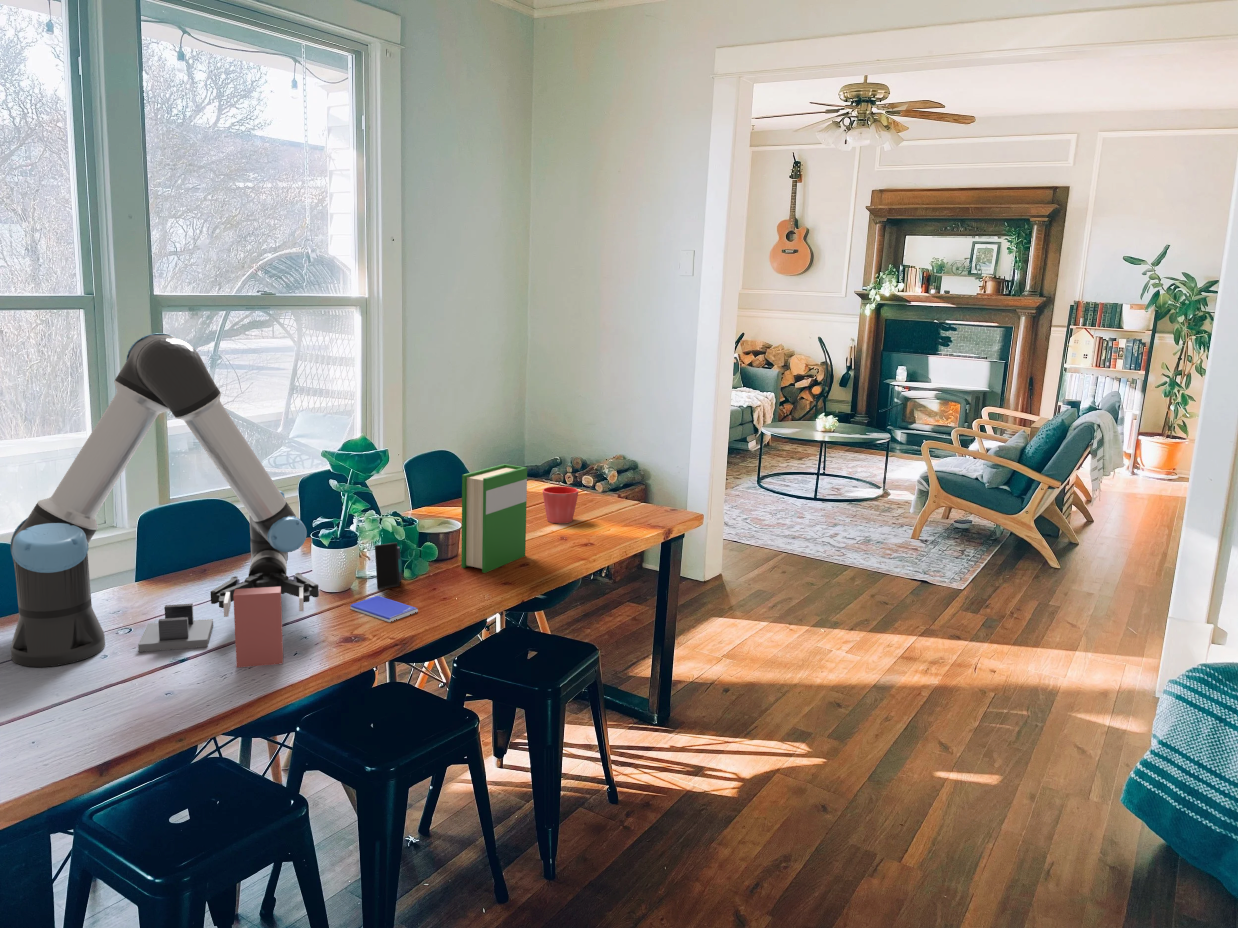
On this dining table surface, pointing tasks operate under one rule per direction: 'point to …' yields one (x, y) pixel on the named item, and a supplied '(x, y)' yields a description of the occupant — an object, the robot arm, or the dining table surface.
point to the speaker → (388, 565)
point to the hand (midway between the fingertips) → (264, 607)
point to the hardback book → (493, 516)
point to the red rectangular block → (258, 626)
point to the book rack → (176, 630)
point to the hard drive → (383, 608)
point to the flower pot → (560, 503)
